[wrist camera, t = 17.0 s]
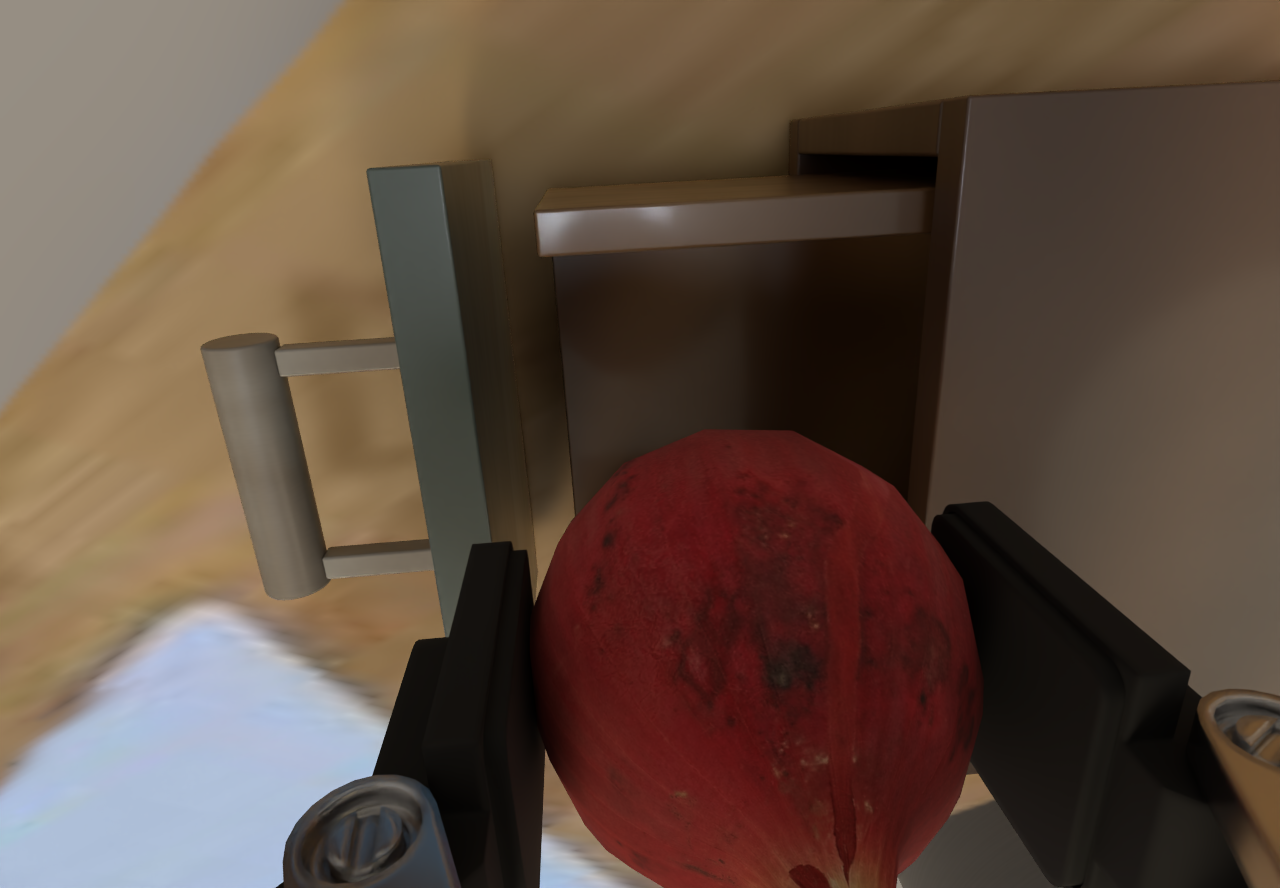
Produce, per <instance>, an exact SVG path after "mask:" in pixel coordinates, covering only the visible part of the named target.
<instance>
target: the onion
mask: <svg viewBox="0 0 1280 888" xmlns="http://www.w3.org/2000/svg"><path fill="white" fill-rule="evenodd" d="M530 661H531V670H532V680H533V689H534V699H535V709H536V718H537V727H538V729H539V732H540V735H541V738H542V740H543V743H544V746H545V749H546V751H547V754H548V757H549V760H550V762H551V764H552V765H553V767H554V769H555V771H556V773H557V775H558V776H559V778H560V780H561V782H562V784H563V786H564V787H565V789H566V791H567V793H568V795H569V797H570V798H571V800H572V802H573V804H574V806H575V808H576V809H577V811H578V813H579V815H580V817H581V819H582V820H583V822H584V824H585V826H586V827H587V828H588V829H589V830H590V832H591V833H592V834H593V835H594V836H595V837H596V839H597V840H598V841H599V842H600V843H601V845H602V846H603V847H604V848H605V849H606V850H607V851H608V852H610V853H611V854H613V855H614V856H615V857H617V858H618V859H620V860H621V861H622V862H624V863H625V864H627V865H628V866H629V867H631V868H632V869H634V870H635V871H637V872H639V873H641V874H642V875H644V876H646V877H647V878H649V879H651V880H652V881H654V882H656V883H657V884H659V885H661V886H662V887H664V888H896V884H897V877H898V874H900V873H901V872H902V871H904V870H905V869H906V868H907V867H908V866H910V865H911V864H912V863H913V862H914V861H915V860H916V859H917V858H918V857H919V855H920V854H921V853H922V851H923V850H924V849H925V848H926V846H927V845H928V844H929V843H930V841H931V840H932V839H933V837H934V836H935V835H936V834H937V832H938V831H939V830H940V829H941V827H942V826H943V825H944V823H945V822H946V821H947V819H948V818H949V816H950V814H951V812H952V810H953V808H954V807H955V805H956V803H957V801H958V799H959V797H960V795H961V791H962V787H963V784H964V780H965V777H966V773H967V770H968V766H969V763H970V759H971V755H972V752H973V748H974V745H975V741H976V737H977V733H978V730H979V726H980V722H981V719H982V715H983V690H984V678H983V673H982V669H981V664H980V659H979V654H978V650H977V645H976V640H975V635H974V630H973V626H972V621H971V616H970V611H969V607H968V602H967V597H966V592H965V588H964V583H963V579H962V578H961V576H960V575H959V573H958V571H957V570H956V568H955V567H954V565H953V564H952V562H951V560H950V559H949V557H948V556H947V554H946V553H945V551H944V550H943V548H942V546H941V545H940V544H939V542H938V541H937V540H936V539H935V537H934V536H933V535H932V534H931V532H930V531H929V530H928V528H927V527H926V526H925V525H924V523H923V522H922V521H921V520H920V518H919V517H918V516H917V515H916V513H915V512H914V511H913V509H912V508H911V507H910V506H909V504H908V503H907V502H906V501H905V499H904V498H903V497H902V496H901V494H900V493H899V492H898V491H897V489H896V488H895V487H894V486H893V485H891V484H890V483H888V482H887V481H885V480H883V479H882V478H880V477H879V476H877V475H876V474H874V473H872V472H871V471H869V470H868V469H866V468H864V467H863V466H861V465H859V464H857V463H855V462H853V461H851V460H849V459H847V458H845V457H843V456H841V455H839V454H837V453H836V452H834V451H832V450H830V449H828V448H826V447H824V446H822V445H820V444H818V443H816V442H814V441H812V440H810V439H808V438H806V437H804V436H802V435H800V434H798V433H796V432H794V431H789V430H719V429H704V430H702V431H699V432H697V433H694V434H692V435H690V436H687V437H685V438H682V439H680V440H678V441H675V442H673V443H671V444H668V445H666V446H663V447H661V448H659V449H656V450H654V451H652V452H649V453H647V454H644V455H642V456H640V457H637V458H635V459H633V460H630V461H628V462H625V463H623V465H622V466H621V467H620V468H619V469H618V470H617V471H616V472H615V473H614V475H613V476H612V477H611V478H610V479H609V480H608V481H607V482H606V483H605V484H604V486H603V487H602V488H601V489H600V490H599V491H598V492H597V493H596V494H595V496H594V497H593V498H592V499H591V500H590V501H589V502H588V503H587V504H586V505H585V507H584V508H583V509H582V510H581V511H580V512H579V513H578V514H577V515H576V516H575V518H574V519H573V520H572V521H571V523H570V524H569V526H568V528H567V529H566V531H565V533H564V534H563V536H562V538H561V539H560V541H559V543H558V545H557V547H556V550H555V552H554V555H553V558H552V560H551V563H550V566H549V568H548V571H547V573H546V576H545V579H544V581H543V584H542V587H541V589H540V592H539V594H538V597H537V600H536V602H535V605H534V608H533V610H532V613H531V616H530Z"/></svg>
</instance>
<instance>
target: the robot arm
mask: <svg viewBox="0 0 1280 888" xmlns="http://www.w3.org/2000/svg"><path fill="white" fill-rule="evenodd" d="M931 534H932V535H933V536H934V537H935V539H936V540H937V541H938V542H939V544H940V545H941V546H942V548H943V550H944V551H945V553H946V554H947V556H948V557H949V559H950V560H951V562H952V564H953V565H954V567H955V568H956V570H957V571H958V573H959V575H960V576H961V578H962V579H963V583H964V588H965V592H966V597H967V602H968V607H969V611H970V616H971V621H972V626H973V630H974V635H975V640H976V645H977V650H978V654H979V659H980V664H981V669H982V673H983V678H984V690H983V715H982V719H981V722H980V726H979V730H978V733H977V737H976V741H975V745H974V748H973V752H972V755H971V759H970V762H971V763H972V765H973V767H974V768H975V770H976V771H977V773H978V774H979V776H980V777H981V779H982V780H983V782H984V783H985V785H986V786H987V788H988V790H989V791H990V793H991V794H992V796H993V797H994V799H995V800H996V802H997V803H998V805H999V806H1000V808H1001V810H1002V811H1003V813H1004V814H1005V816H1006V817H1007V819H1008V820H1009V822H1010V823H1011V825H1012V826H1013V828H1014V829H1015V831H1016V833H1017V834H1018V836H1019V837H1020V839H1021V840H1022V842H1023V843H1024V845H1025V846H1026V848H1027V849H1028V851H1029V853H1030V854H1031V856H1032V857H1033V859H1034V860H1035V862H1036V863H1037V865H1038V866H1039V868H1040V869H1041V871H1042V873H1043V874H1044V876H1045V877H1046V878H1047V879H1048V881H1049V882H1050V883H1051V884H1053V885H1054V886H1057V887H1064V888H1280V696H1278V695H1275V694H1270V693H1265V692H1260V691H1255V690H1250V689H1224V690H1219V691H1213V692H1210V693H1209V694H1207V695H1206V696H1204V697H1203V698H1202V697H1201V696H1200V695H1199V694H1198V693H1197V692H1196V691H1194V690H1193V689H1192V688H1191V687H1190V686H1189V685H1188V682H1189V678H1190V674H1191V670H1189V669H1188V668H1187V667H1186V666H1185V665H1183V664H1182V663H1181V662H1180V661H1179V660H1177V659H1176V658H1175V657H1174V656H1173V655H1172V654H1170V653H1169V652H1168V651H1167V650H1166V649H1164V648H1163V647H1162V646H1161V645H1160V644H1158V643H1157V642H1156V641H1155V640H1154V639H1153V638H1151V637H1150V636H1149V635H1148V634H1147V633H1145V632H1144V631H1143V630H1142V629H1141V628H1139V627H1138V626H1137V625H1136V624H1135V623H1134V622H1132V621H1131V620H1130V619H1129V618H1128V617H1126V616H1125V615H1124V614H1123V613H1122V612H1120V611H1119V610H1118V609H1117V608H1116V607H1115V606H1113V605H1112V604H1111V603H1110V602H1109V601H1107V600H1106V599H1105V598H1104V597H1103V596H1101V595H1100V594H1099V593H1098V592H1097V591H1096V590H1094V589H1093V588H1092V587H1091V586H1090V585H1088V584H1087V583H1086V582H1085V581H1084V580H1082V579H1081V578H1080V577H1079V576H1078V575H1077V574H1075V573H1074V572H1073V571H1072V570H1071V569H1069V568H1068V567H1067V566H1066V565H1065V564H1063V563H1062V562H1061V561H1060V560H1059V559H1058V558H1056V557H1055V556H1054V555H1053V554H1052V553H1050V552H1049V551H1048V550H1047V549H1046V548H1044V547H1043V546H1042V545H1041V544H1040V543H1039V542H1037V541H1036V540H1035V539H1034V538H1033V537H1031V536H1030V535H1029V534H1028V533H1027V532H1025V531H1024V530H1023V529H1022V528H1021V527H1020V526H1018V525H1017V524H1016V523H1015V522H1014V521H1012V520H1011V519H1010V518H1009V517H1008V516H1006V515H1005V514H1004V513H1003V512H1002V511H1001V510H999V509H998V508H997V507H996V506H995V505H993V504H992V503H990V502H988V501H982V502H970V503H958V504H949V505H947V506H946V507H945V509H944V511H943V514H941V515H936V516H935V517H934V519H933V521H932V526H931ZM533 608H534V601H533V593H532V584H531V576H530V567H529V559H528V553H527V550H514V548H513V544H512V542H511V541H503V542H491V543H479V544H472V547H471V550H470V554H469V558H468V562H467V566H466V570H465V574H464V578H463V582H462V586H461V590H460V594H459V598H458V602H457V606H456V610H455V614H454V618H453V622H452V626H451V630H450V634H449V637H443V638H432V639H422V640H418V641H416V642H415V644H414V647H413V649H412V652H411V655H410V658H409V661H408V664H407V668H406V671H405V674H404V677H403V680H402V683H401V687H400V690H399V693H398V696H397V699H396V702H395V706H394V709H393V712H392V715H391V718H390V721H389V725H388V728H387V731H386V734H385V737H384V740H383V744H382V747H381V750H380V753H379V756H378V759H377V763H376V766H375V769H374V772H373V775H372V776H371V777H367V778H362V779H358V780H354V781H352V782H350V783H348V784H346V785H344V786H342V787H339V788H337V789H335V790H333V791H331V792H330V793H329V794H327V795H326V796H324V797H323V798H322V799H320V800H319V801H318V802H316V803H315V804H313V805H312V806H311V807H310V808H309V810H308V811H307V812H306V813H305V814H304V815H303V816H302V817H301V818H300V819H299V821H298V822H297V823H296V824H295V826H294V828H293V830H292V832H291V834H290V836H289V838H288V839H287V841H286V845H285V851H284V857H283V879H284V882H283V883H281V884H280V885H279V886H277V887H276V888H539V887H540V863H541V839H542V815H543V791H544V767H545V746H544V743H543V740H542V738H541V735H540V732H539V729H538V727H537V718H536V709H535V699H534V689H533V680H532V670H531V661H530V616H531V613H532V610H533Z"/></svg>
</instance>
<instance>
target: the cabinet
mask: <svg viewBox="0 0 1280 888" xmlns="http://www.w3.org/2000/svg"><path fill="white" fill-rule="evenodd" d="M931 167H937V175H936V186H935V198H934V209H933V220H932V231H931V242H930V254H929V265H928V276H927V287H926V298H925V310H924V321H923V332H922V343H921V354H920V366H919V377H918V388H917V399H916V410H915V422H914V433H913V444H912V455H911V466H910V478H909V489H908V500H907V503H908V504H909V506H910V507H911V508H912V509H913V511H914V512H915V513H916V515H917V516H918V517H919V518H920V520H921V521H922V522H923V523H924V525H925V526H926V527H927V528H928V530H929V531H930V532H931V526H932V521H933V519H934V517H935V516H936V515H941V514H943V511H944V509H945V507H946V506H947V505H949V504H958V503H970V502H982V501H988V502H990V503H992V504H993V505H995V506H996V507H997V508H998V509H999V510H1001V511H1002V512H1003V513H1004V514H1005V515H1006V516H1008V517H1009V518H1010V519H1011V520H1012V521H1014V522H1015V523H1016V524H1017V525H1018V526H1020V527H1021V528H1022V529H1023V530H1024V531H1025V532H1027V533H1028V534H1029V535H1030V536H1031V537H1033V538H1034V539H1035V540H1036V541H1037V542H1039V543H1040V544H1041V545H1042V546H1043V547H1044V548H1046V549H1047V550H1048V551H1049V552H1050V553H1052V554H1053V555H1054V556H1055V557H1056V558H1058V559H1059V560H1060V561H1061V562H1062V563H1063V564H1065V565H1066V566H1067V567H1068V568H1069V569H1071V570H1072V571H1073V572H1074V573H1075V574H1077V575H1078V576H1079V577H1080V578H1081V579H1082V580H1084V581H1085V582H1086V583H1087V584H1088V585H1090V586H1091V587H1092V588H1093V589H1094V590H1096V591H1097V592H1098V593H1099V594H1100V595H1101V596H1103V597H1104V598H1105V599H1106V600H1107V601H1109V602H1110V603H1111V604H1112V605H1113V606H1115V607H1116V608H1117V609H1118V610H1119V611H1120V612H1122V613H1123V614H1124V615H1125V616H1126V617H1128V618H1129V619H1130V620H1131V621H1132V622H1134V623H1135V624H1136V625H1137V626H1138V627H1139V628H1141V629H1142V630H1143V631H1144V632H1145V633H1147V634H1148V635H1149V636H1150V637H1151V638H1153V639H1154V640H1155V641H1156V642H1157V643H1158V644H1160V645H1161V646H1162V647H1163V648H1164V649H1166V650H1167V651H1168V652H1169V653H1170V654H1172V655H1173V656H1174V657H1175V658H1176V659H1177V660H1179V661H1180V662H1181V663H1182V664H1183V665H1185V666H1186V667H1187V668H1188V669H1189V670H1191V674H1190V678H1189V682H1188V685H1189V686H1190V687H1191V688H1192V689H1193V690H1194V691H1196V692H1197V693H1198V694H1199V695H1200V696H1201V697H1202V698H1203V697H1204V696H1206V695H1207V694H1209V693H1210V692H1213V691H1219V690H1224V689H1250V690H1255V691H1260V692H1265V693H1270V694H1275V695H1278V696H1280V80H1272V81H1251V82H1231V83H1211V84H1191V85H1170V86H1150V87H1130V88H1109V89H1089V90H1069V91H1049V92H1028V93H1008V94H988V95H969V96H962V97H955V98H948V99H941V100H934V101H927V102H920V103H913V104H905V105H898V106H891V107H884V108H876V109H869V110H862V111H855V112H847V113H840V114H833V115H826V116H819V117H811V118H804V119H797V120H792V121H791V122H790V145H789V175H804V174H822V173H840V172H858V171H876V170H894V169H913V168H931ZM968 774H977V771H976V770H975V768H974V767H973V765H972V763H971V762H970V763H969V766H968V770H967V773H966V775H968Z"/></svg>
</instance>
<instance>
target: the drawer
mask: <svg viewBox="0 0 1280 888" xmlns="http://www.w3.org/2000/svg"><path fill="white" fill-rule="evenodd" d="M366 173H367V178H368V184H369V190H370V196H371V202H372V208H373V214H374V220H375V225H376V231H377V237H378V243H379V249H380V255H381V261H382V267H383V272H384V278H385V284H386V290H387V296H388V302H389V308H390V314H391V319H392V325H393V331H394V337H389V338H374V339H359V340H343V341H328V342H313V343H298V344H285V345H283V346H281V347H280V343H279V339H278V337H277V336H276V335H274V334H269V333H248V334H239V335H232V336H227V337H222V338H218V339H214V340H211V341H209V342H207V343H205V344H203V345H202V346H201V353H202V357H203V360H204V364H205V368H206V372H207V375H208V379H209V383H210V387H211V390H212V394H213V398H214V402H215V405H216V409H217V413H218V417H219V420H220V424H221V428H222V431H223V435H224V439H225V443H226V446H227V450H228V454H229V458H230V461H231V465H232V469H233V473H234V476H235V480H236V484H237V488H238V491H239V495H240V499H241V503H242V506H243V510H244V514H245V518H246V521H247V525H248V529H249V533H250V536H251V540H252V544H253V548H254V551H255V555H256V559H257V562H258V566H259V570H260V574H261V577H262V581H263V585H264V589H265V592H266V594H267V595H268V596H269V597H271V598H273V599H277V600H292V599H298V598H302V597H305V596H308V595H311V594H313V593H315V592H317V591H319V590H321V589H322V588H324V587H325V586H326V585H327V584H328V583H329V582H330V580H331V579H336V578H348V577H359V576H371V575H383V574H395V573H406V572H418V571H430V570H434V572H435V578H436V584H437V590H438V596H439V601H440V607H441V613H442V619H443V625H444V631H445V637H449V634H450V630H451V626H452V622H453V618H454V614H455V610H456V606H457V602H458V598H459V594H460V590H461V586H462V582H463V578H464V574H465V570H466V566H467V562H468V558H469V554H470V550H471V547H472V544H479V543H491V542H503V541H511V542H512V544H513V548H514V550H527V553H528V559H529V567H530V576H531V584H532V593H533V601H534V605H535V600H536V587H537V575H538V569H537V560H536V551H535V542H534V533H533V524H532V516H531V507H530V498H529V489H528V480H527V471H526V462H525V453H524V445H523V436H522V427H521V418H520V409H519V400H518V391H517V382H516V374H515V365H514V356H513V347H512V338H511V329H510V320H509V311H508V303H507V294H506V285H505V276H504V267H503V258H502V249H501V240H500V232H499V223H498V214H497V205H496V196H495V187H494V178H493V169H492V161H491V160H490V159H483V160H464V161H446V162H435V163H423V164H412V165H400V166H388V167H377V168H369V169H367V171H366ZM936 175H937V167H931V168H913V169H894V170H876V171H858V172H840V173H822V174H804V175H786V176H767V177H749V178H731V179H713V180H695V181H677V182H659V183H640V184H622V185H604V186H586V187H568V188H550V189H547V191H546V193H545V195H544V196H543V198H542V199H541V201H540V203H539V204H538V206H537V207H536V209H535V211H534V223H535V233H536V244H537V254H538V256H539V257H552V262H553V273H554V285H555V296H556V307H557V318H558V329H559V341H560V352H561V363H562V374H563V385H564V397H565V408H566V419H567V430H568V442H569V453H570V464H571V475H572V486H573V498H574V509H575V516H576V515H577V514H578V513H579V512H580V511H581V510H582V509H583V508H584V507H585V505H586V504H587V503H588V502H589V501H590V500H591V499H592V498H593V497H594V496H595V494H596V493H597V492H598V491H599V490H600V489H601V488H602V487H603V486H604V484H605V483H606V482H607V481H608V480H609V479H610V478H611V477H612V476H613V475H614V473H615V472H616V471H617V470H618V469H619V468H620V467H621V466H622V465H623V463H625V462H628V461H630V460H633V459H635V458H637V457H640V456H642V455H644V454H647V453H649V452H652V451H654V450H656V449H659V448H661V447H663V446H666V445H668V444H671V443H673V442H675V441H678V440H680V439H682V438H685V437H687V436H690V435H692V434H694V433H697V432H699V431H702V430H704V429H719V430H789V431H794V432H796V433H798V434H800V435H802V436H804V437H806V438H808V439H810V440H812V441H814V442H816V443H818V444H820V445H822V446H824V447H826V448H828V449H830V450H832V451H834V452H836V453H837V454H839V455H841V456H843V457H845V458H847V459H849V460H851V461H853V462H855V463H857V464H859V465H861V466H863V467H864V468H866V469H868V470H869V471H871V472H872V473H874V474H876V475H877V476H879V477H880V478H882V479H883V480H885V481H887V482H888V483H890V484H891V485H893V486H894V487H895V488H896V489H897V491H898V492H899V493H900V494H901V496H902V497H903V498H904V499H905V501H906V502H907V500H908V489H909V478H910V466H911V455H912V444H913V433H914V422H915V410H916V399H917V388H918V377H919V366H920V354H921V343H922V332H923V321H924V310H925V298H926V287H927V276H928V265H929V254H930V242H931V231H932V220H933V209H934V198H935V186H936ZM391 369H400V372H401V378H402V384H403V390H404V396H405V402H406V408H407V413H408V419H409V425H410V431H411V437H412V443H413V449H414V455H415V460H416V466H417V472H418V478H419V484H420V490H421V496H422V502H423V507H424V513H425V519H426V525H427V531H428V537H429V539H423V540H411V541H399V542H387V543H375V544H363V545H350V546H338V547H330V548H328V550H326V545H325V541H324V536H323V532H322V528H321V523H320V519H319V514H318V510H317V506H316V501H315V497H314V492H313V488H312V484H311V479H310V475H309V471H308V466H307V462H306V457H305V453H304V449H303V444H302V440H301V435H300V431H299V427H298V422H297V418H296V413H295V409H294V405H293V400H292V396H291V391H290V387H289V383H288V378H287V377H289V376H304V375H318V374H333V373H347V372H362V371H377V370H391Z"/></svg>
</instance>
